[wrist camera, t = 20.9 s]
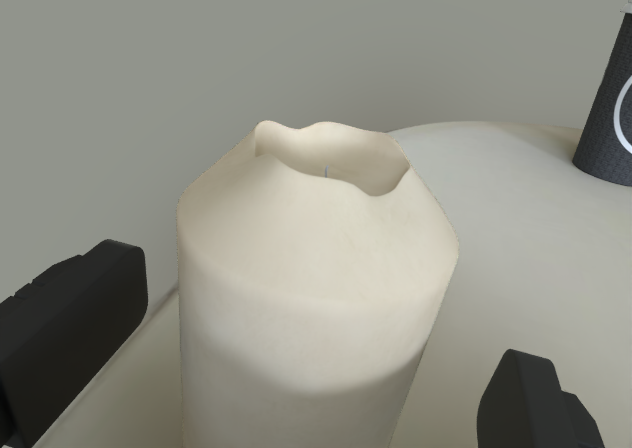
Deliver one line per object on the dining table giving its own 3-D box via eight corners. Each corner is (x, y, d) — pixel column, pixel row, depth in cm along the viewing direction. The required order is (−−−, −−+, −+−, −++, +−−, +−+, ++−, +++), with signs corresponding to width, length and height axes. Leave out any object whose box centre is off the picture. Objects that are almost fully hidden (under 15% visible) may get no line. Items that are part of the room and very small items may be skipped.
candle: (305, 625, 10) (420, 273, 5) (140, 476, 12) (98, 128, 7) (399, 441, 14) (513, 150, 9) (265, 356, 16) (294, 85, 11)
